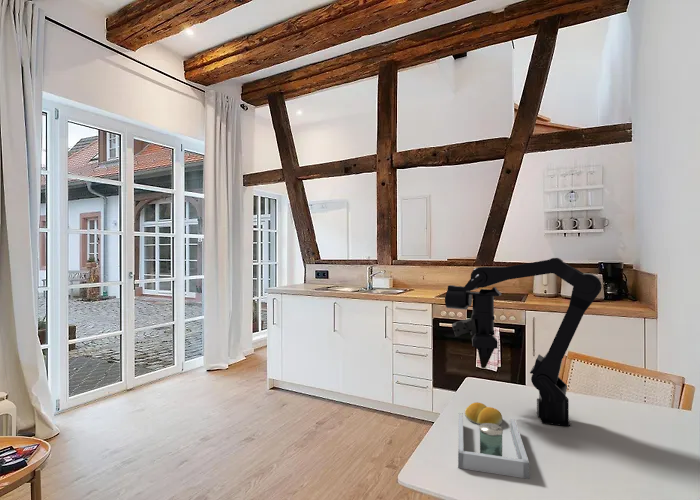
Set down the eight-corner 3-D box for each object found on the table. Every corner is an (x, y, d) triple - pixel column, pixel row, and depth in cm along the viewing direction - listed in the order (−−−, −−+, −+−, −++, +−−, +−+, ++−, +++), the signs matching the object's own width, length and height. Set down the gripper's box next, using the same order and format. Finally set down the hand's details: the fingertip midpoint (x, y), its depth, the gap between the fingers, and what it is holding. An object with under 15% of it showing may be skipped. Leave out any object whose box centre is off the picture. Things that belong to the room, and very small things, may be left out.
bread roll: (492, 431, 93) (492, 415, 93) (460, 419, 99) (460, 404, 99) (508, 421, 98) (508, 406, 98) (477, 410, 105) (477, 396, 105)
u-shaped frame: (514, 431, 92) (514, 419, 92) (529, 478, 73) (529, 462, 73) (458, 424, 95) (458, 412, 95) (458, 467, 76) (458, 452, 76)
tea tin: (503, 465, 77) (503, 434, 77) (480, 461, 79) (480, 431, 79) (501, 453, 82) (501, 424, 82) (478, 450, 83) (478, 421, 83)
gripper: (454, 305, 120) (453, 355, 119) (452, 314, 102) (452, 373, 101) (492, 307, 116) (491, 358, 116) (497, 316, 98) (497, 377, 98)
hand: (482, 366), depth 108 cm, fingers open, 3 cm apart
